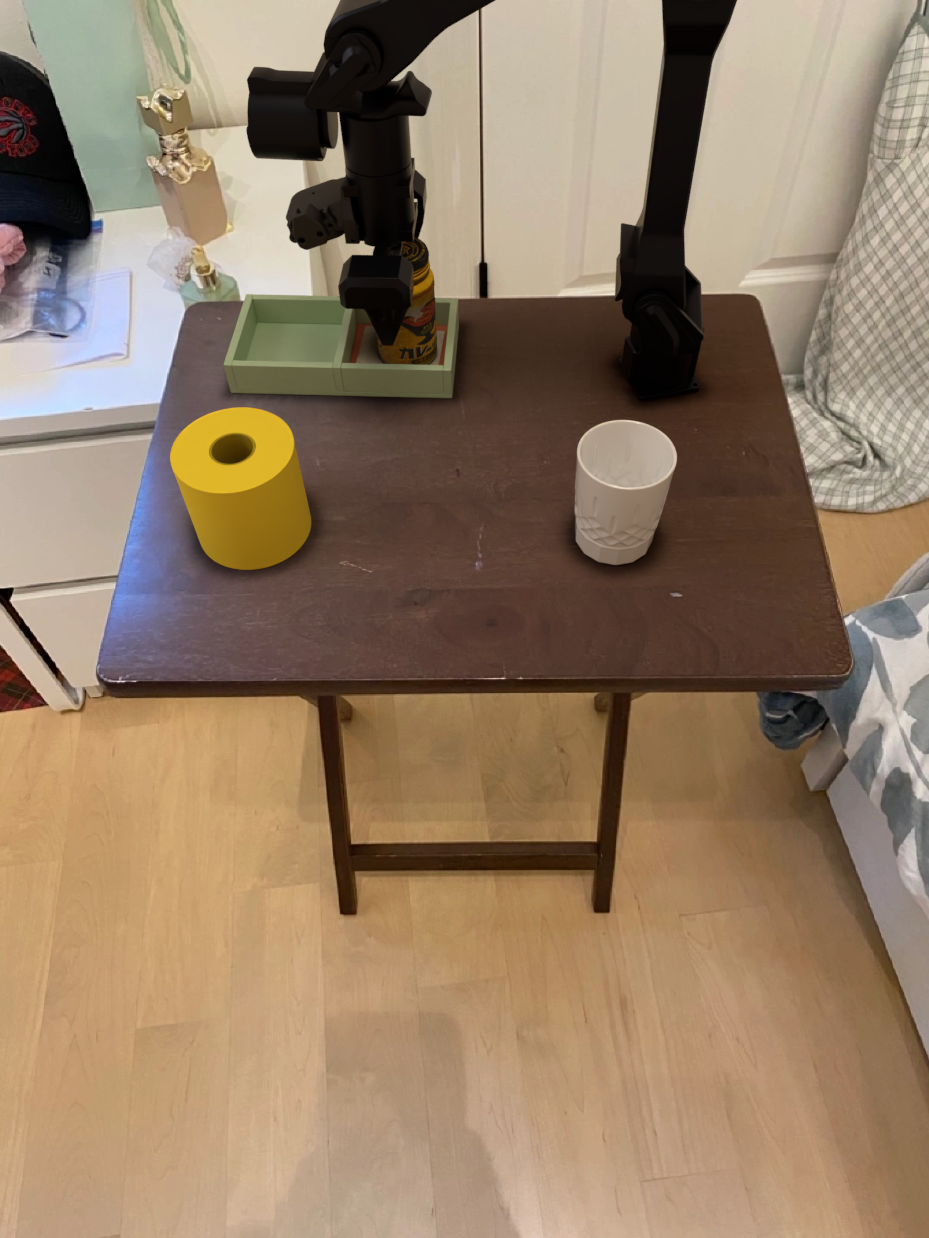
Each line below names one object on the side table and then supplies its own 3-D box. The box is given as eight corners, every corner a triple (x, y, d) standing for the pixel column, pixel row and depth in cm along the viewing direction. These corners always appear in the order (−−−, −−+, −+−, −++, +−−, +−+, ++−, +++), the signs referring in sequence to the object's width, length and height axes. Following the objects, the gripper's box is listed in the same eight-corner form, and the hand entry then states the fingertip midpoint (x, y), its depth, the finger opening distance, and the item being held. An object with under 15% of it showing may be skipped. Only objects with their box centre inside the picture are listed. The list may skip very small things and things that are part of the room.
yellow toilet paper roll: (209, 486, 87) (182, 408, 79) (316, 485, 86) (300, 406, 79) (189, 570, 81) (159, 493, 73) (305, 569, 81) (286, 492, 73)
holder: (458, 326, 100) (458, 298, 97) (452, 398, 93) (451, 370, 90) (252, 322, 101) (245, 294, 98) (230, 393, 94) (223, 365, 92)
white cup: (581, 578, 80) (592, 496, 71) (558, 511, 84) (565, 427, 76) (670, 563, 80) (691, 480, 72) (642, 497, 85) (658, 413, 77)
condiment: (436, 378, 94) (431, 272, 84) (353, 373, 95) (339, 267, 85) (445, 333, 98) (441, 227, 89) (365, 328, 99) (353, 223, 89)
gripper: (302, 106, 86) (325, 259, 99) (265, 219, 75) (296, 375, 88) (422, 108, 85) (430, 261, 98) (403, 221, 74) (415, 377, 87)
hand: (392, 315), depth 93 cm, fingers open, 9 cm apart
